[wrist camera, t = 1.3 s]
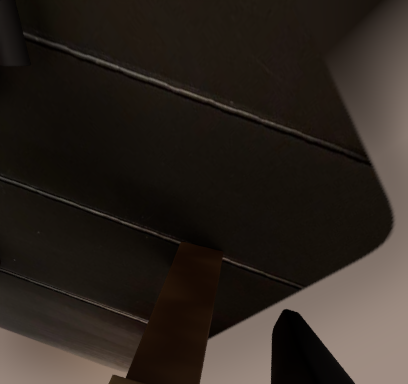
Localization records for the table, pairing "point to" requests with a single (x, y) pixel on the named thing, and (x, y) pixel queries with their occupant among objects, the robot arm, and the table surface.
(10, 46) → the drawer
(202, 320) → the post
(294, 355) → the robot arm
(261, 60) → the table surface
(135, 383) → the block
